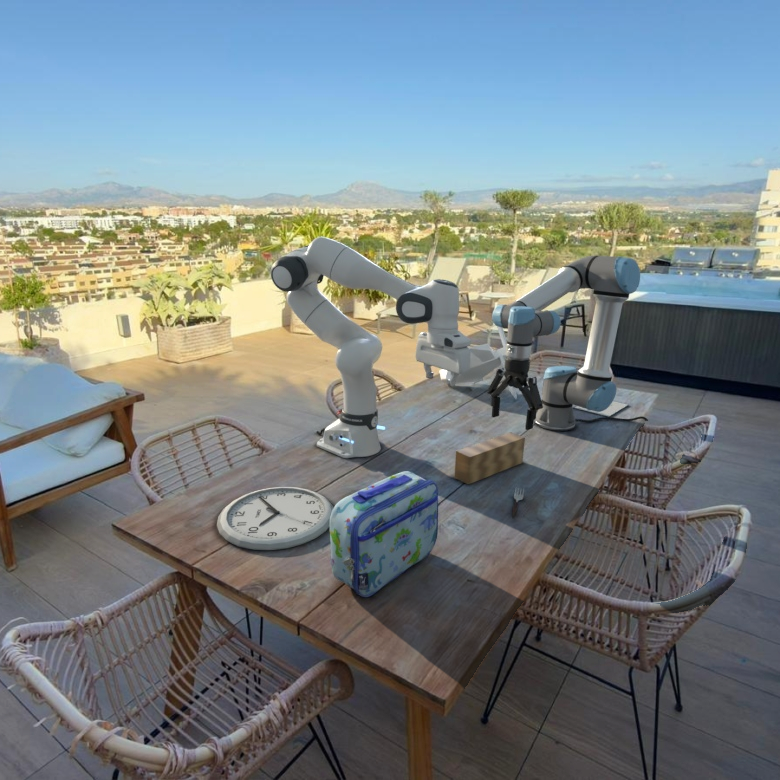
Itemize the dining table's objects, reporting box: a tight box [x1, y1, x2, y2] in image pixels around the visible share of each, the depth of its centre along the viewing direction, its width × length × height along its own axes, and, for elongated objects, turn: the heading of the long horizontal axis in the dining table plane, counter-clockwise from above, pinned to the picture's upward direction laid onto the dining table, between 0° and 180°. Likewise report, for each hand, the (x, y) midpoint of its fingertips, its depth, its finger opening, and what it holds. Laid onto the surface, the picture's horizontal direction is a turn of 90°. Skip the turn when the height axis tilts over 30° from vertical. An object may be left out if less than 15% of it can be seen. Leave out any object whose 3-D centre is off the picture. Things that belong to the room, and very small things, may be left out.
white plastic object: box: [438, 326, 524, 400], centre depth 245 cm, size 37×45×31 cm
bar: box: [454, 432, 526, 485], centre depth 164 cm, size 26×6×9 cm, turn 128°
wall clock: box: [216, 486, 334, 551], centre depth 136 cm, size 30×2×30 cm
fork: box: [511, 486, 525, 519], centre depth 144 cm, size 3×16×2 cm, turn 160°
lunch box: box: [329, 470, 439, 598], centre depth 113 cm, size 26×11×21 cm, turn 134°
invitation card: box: [573, 400, 629, 417], centre depth 226 cm, size 21×1×15 cm
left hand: (440, 381), depth 157 cm, fingers open, 8 cm apart
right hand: (511, 422), depth 167 cm, fingers open, 13 cm apart
